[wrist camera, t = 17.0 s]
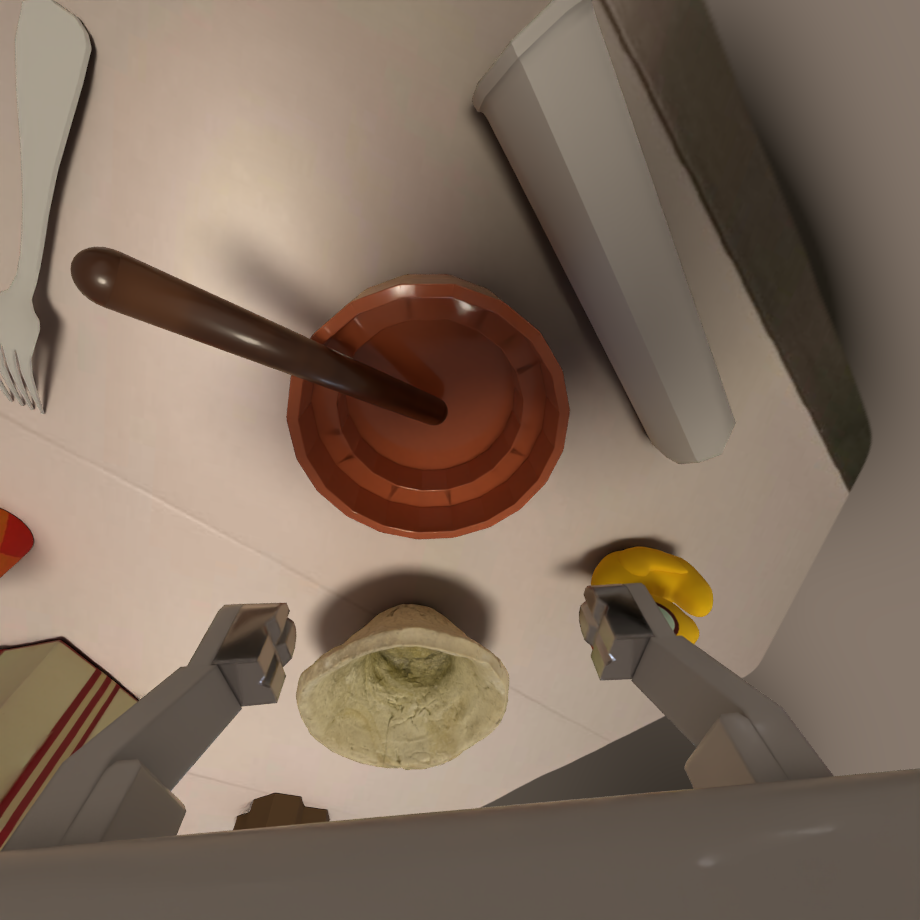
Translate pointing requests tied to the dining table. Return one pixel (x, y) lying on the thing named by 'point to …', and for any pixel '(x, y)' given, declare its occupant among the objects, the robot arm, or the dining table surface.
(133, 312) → the stirring stick
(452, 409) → the orange round shallow dish
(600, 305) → the tube
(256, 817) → the candle
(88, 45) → the fork
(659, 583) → the duckling
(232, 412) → the dining table surface
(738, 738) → the robot arm
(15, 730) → the gift box
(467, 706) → the bowl
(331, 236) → the dining table surface
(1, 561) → the paper cup
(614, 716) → the dining table surface
